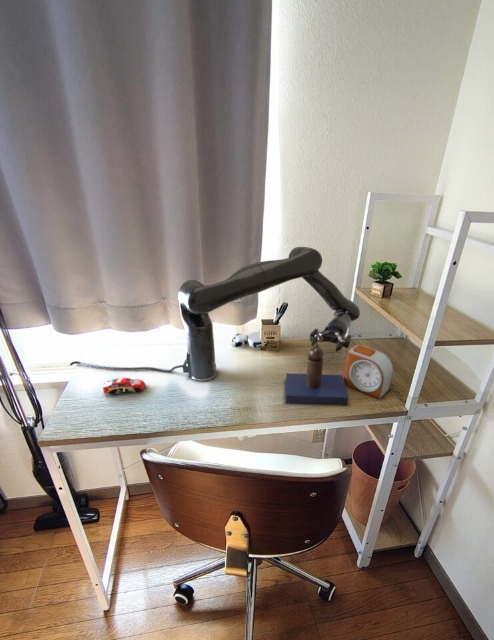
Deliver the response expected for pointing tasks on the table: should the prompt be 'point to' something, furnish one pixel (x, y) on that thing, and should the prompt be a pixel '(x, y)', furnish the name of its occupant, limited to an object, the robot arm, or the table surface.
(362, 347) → the alarm clock
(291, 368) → the table surface
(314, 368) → the pepper mill
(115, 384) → the race car
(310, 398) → the book
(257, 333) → the robot toy
